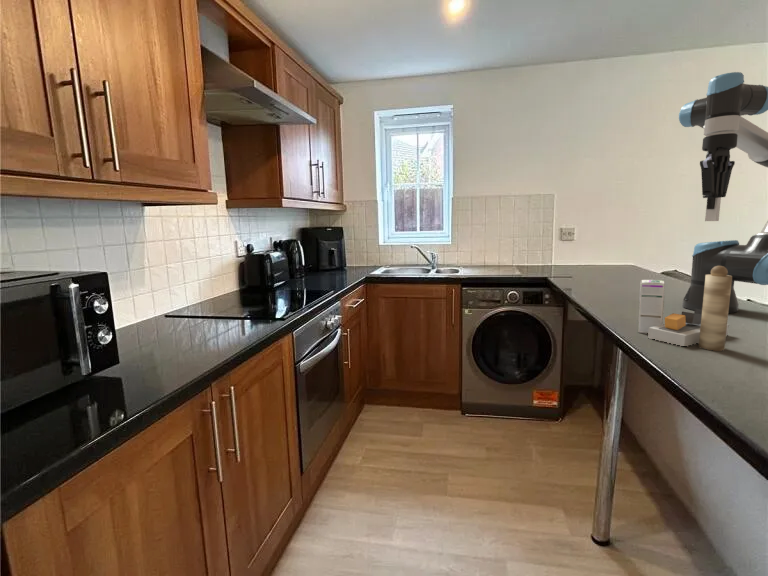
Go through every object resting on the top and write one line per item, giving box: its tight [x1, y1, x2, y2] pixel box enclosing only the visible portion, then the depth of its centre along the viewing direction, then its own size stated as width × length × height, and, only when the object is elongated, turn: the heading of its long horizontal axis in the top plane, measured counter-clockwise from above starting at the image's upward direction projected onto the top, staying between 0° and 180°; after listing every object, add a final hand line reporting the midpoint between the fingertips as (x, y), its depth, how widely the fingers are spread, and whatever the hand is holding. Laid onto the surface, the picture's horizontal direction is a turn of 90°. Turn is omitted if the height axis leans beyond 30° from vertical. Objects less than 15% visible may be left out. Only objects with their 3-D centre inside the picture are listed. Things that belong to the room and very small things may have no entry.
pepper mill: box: [698, 266, 732, 352], centre depth 101 cm, size 5×5×20 cm
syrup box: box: [637, 279, 666, 334], centre depth 117 cm, size 6×6×14 cm
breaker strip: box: [647, 321, 730, 347], centre depth 111 cm, size 20×9×3 cm, turn 116°
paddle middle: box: [680, 311, 702, 325], centre depth 111 cm, size 4×3×3 cm
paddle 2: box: [693, 309, 702, 317], centre depth 113 cm, size 4×3×3 cm
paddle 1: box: [664, 313, 686, 330], centre depth 108 cm, size 4×3×3 cm
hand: (711, 221), depth 119 cm, fingers closed
